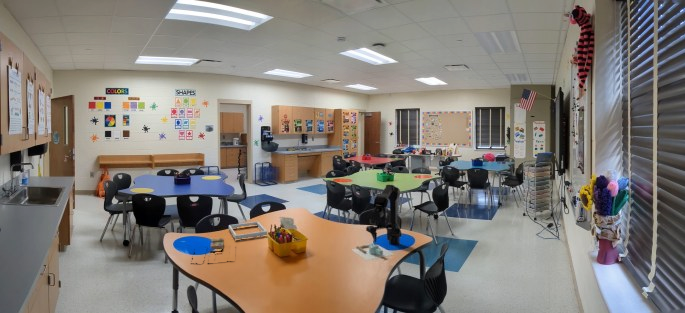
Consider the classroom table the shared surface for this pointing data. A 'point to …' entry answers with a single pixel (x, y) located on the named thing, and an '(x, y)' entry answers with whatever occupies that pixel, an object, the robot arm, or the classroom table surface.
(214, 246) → the pile of dominoes
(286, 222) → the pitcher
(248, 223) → the train corral
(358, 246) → the cradle
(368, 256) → the board
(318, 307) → the classroom table surface
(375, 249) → the teal dome with tabs
